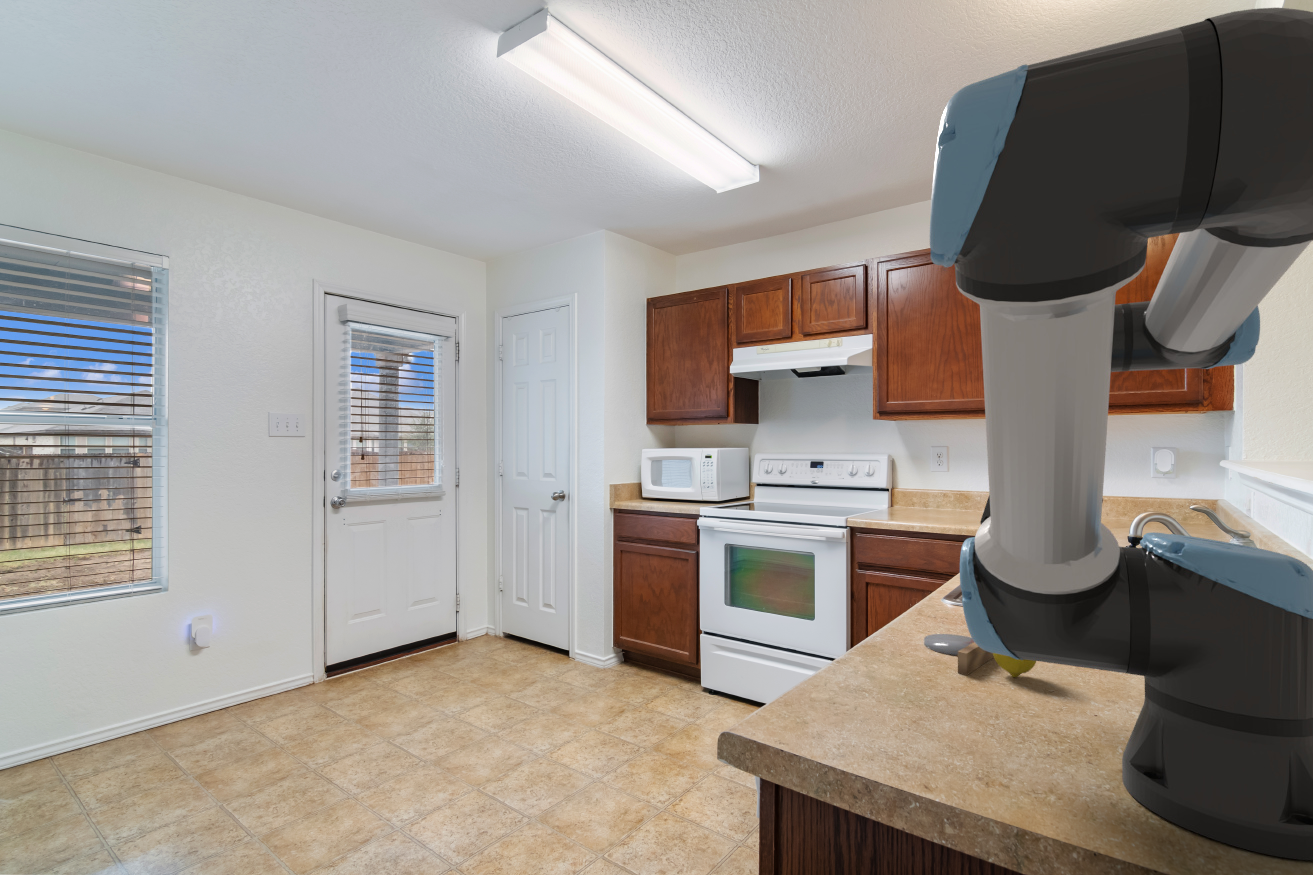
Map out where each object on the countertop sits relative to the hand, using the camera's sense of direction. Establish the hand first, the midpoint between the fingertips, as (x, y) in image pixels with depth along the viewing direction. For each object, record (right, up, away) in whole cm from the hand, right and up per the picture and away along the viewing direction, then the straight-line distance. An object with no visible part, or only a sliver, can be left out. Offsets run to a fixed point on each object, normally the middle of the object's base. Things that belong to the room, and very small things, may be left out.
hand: (1043, 566), depth 88 cm
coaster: (-6, -16, +14) cm, 22 cm away
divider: (-4, -16, +8) cm, 18 cm away
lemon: (-4, -16, 0) cm, 16 cm away
